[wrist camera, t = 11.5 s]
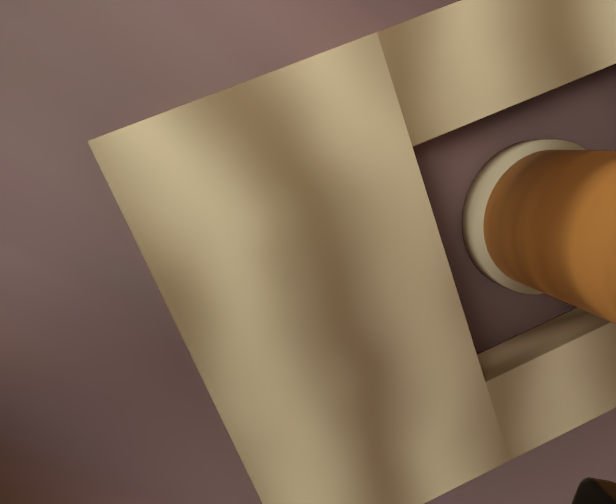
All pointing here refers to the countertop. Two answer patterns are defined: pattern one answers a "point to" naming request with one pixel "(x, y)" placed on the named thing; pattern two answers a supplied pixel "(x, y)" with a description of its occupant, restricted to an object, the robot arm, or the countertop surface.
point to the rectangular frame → (359, 257)
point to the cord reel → (547, 223)
